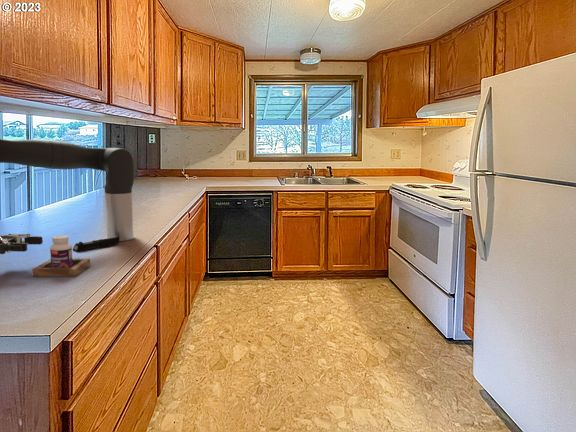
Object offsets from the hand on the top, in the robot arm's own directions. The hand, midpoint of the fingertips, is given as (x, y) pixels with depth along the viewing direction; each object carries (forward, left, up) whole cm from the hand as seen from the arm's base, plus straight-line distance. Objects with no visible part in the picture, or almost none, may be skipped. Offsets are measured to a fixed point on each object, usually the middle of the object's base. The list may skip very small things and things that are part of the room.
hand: (34, 243), depth 127 cm
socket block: (0, +7, -8) cm, 10 cm away
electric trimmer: (-28, +6, -8) cm, 30 cm away
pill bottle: (0, +7, -8) cm, 11 cm away
